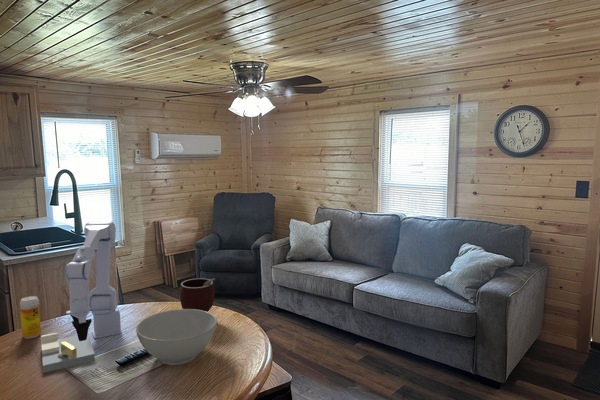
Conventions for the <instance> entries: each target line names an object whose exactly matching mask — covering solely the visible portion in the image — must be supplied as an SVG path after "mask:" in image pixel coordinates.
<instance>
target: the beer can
mask: <svg viewBox="0 0 600 400" xmlns="http://www.w3.org/2000/svg"><path fill="white" fill-rule="evenodd" d="M19 309H20V310H19V311H20V323H21V324H20V325H21V336H22V338H23V339H25V340H31V339H35V338H38V337H39V336H40V334H41V333H42V332H41V331H42V330H41V314H40V313H41V312H40V300H39V298H38V295H37V296H36V295H29V296H25V297H22V298H21V299H20V302H19Z"/></svg>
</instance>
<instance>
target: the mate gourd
mask: <svg viewBox="0 0 600 400" xmlns="http://www.w3.org/2000/svg"><path fill="white" fill-rule="evenodd" d="M213 281H216V278H211V279H209V278H204V277H201V278H200V277H199V278H191V279H187V280H186V279H185V280H183V281H182V282H181V283H180V290H179V300H180V305H181V309H196V310H202V311H206V312H210V310H211V309H212V307H213V305H214V301H215V288H214V287H215V285H214V284H213V283H214V282H213Z"/></svg>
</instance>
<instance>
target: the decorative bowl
mask: <svg viewBox="0 0 600 400" xmlns="http://www.w3.org/2000/svg"><path fill="white" fill-rule="evenodd" d="M217 325H218V319H217V317H216V316H215V315H214V314H213V313H211V312H210V311H208V312H206V311H202V310H196V309H183V308H179V309H172V310H167V311H162V312H158V313H154V314H152V315H149V316H148V317H146V318H144V319H142V320H141V321H140V322H139V323H138V324H137V326H136V328H135V332H136V336H137V338H138V341H139V342H140V344H141V345H142V347H143V349H145V351H146V352H147V353H148V354H150V355H151V356H152V357H153V358H155V359H157V360H159V361H160V362H161V364H164V365H168V366H180V365H185V364H188V363H190V362H191V361H193V360H195V358H197V356H198V355H199V354H200V353H201V352H203V350H205V349H206V347H207V346H208V345H209V343H210V342H211V340H212V338H213V336H214V335H215V332H216V328H217Z"/></svg>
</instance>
